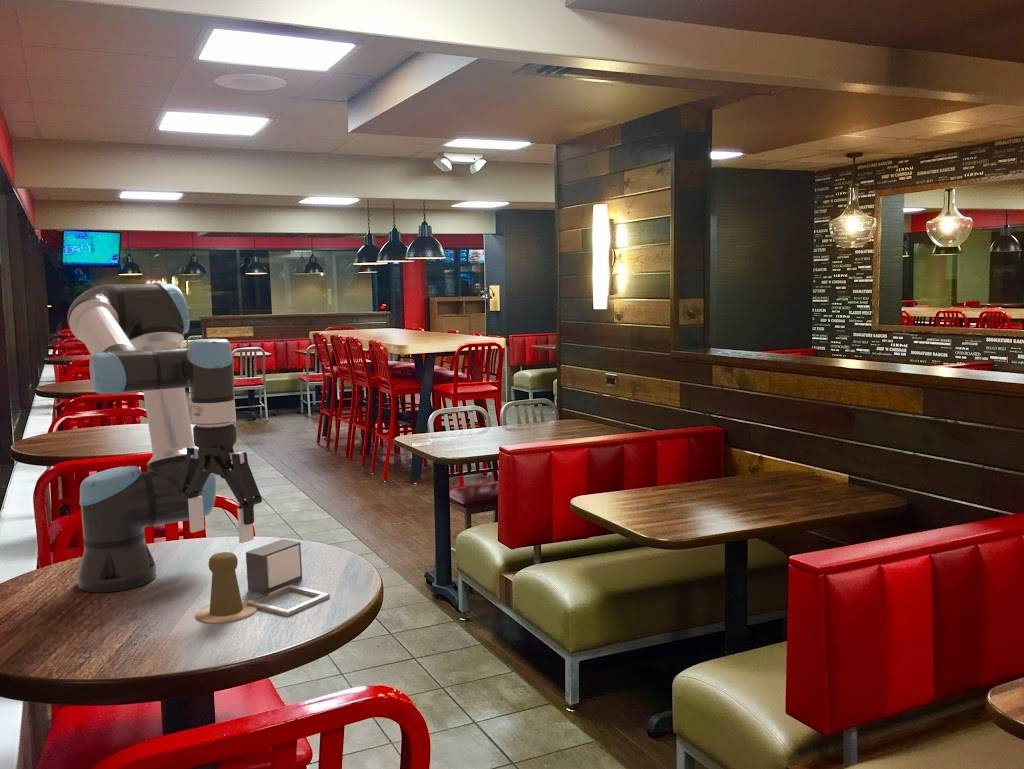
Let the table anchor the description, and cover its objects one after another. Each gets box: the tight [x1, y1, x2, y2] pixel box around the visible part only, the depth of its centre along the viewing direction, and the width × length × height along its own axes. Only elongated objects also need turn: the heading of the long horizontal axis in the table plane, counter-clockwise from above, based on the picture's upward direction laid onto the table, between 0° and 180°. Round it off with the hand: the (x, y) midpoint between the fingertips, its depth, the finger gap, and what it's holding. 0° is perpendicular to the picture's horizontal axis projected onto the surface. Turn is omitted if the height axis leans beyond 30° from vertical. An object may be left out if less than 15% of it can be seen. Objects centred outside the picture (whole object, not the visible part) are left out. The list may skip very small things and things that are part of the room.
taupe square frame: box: [247, 584, 331, 617], centre depth 171 cm, size 11×11×1 cm
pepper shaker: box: [208, 551, 243, 616], centre depth 166 cm, size 6×6×11 cm
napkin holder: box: [245, 538, 303, 595], centre depth 180 cm, size 5×10×8 cm, turn 148°
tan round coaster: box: [195, 599, 258, 624], centre depth 166 cm, size 11×11×1 cm
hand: (221, 536), depth 165 cm, fingers open, 13 cm apart
